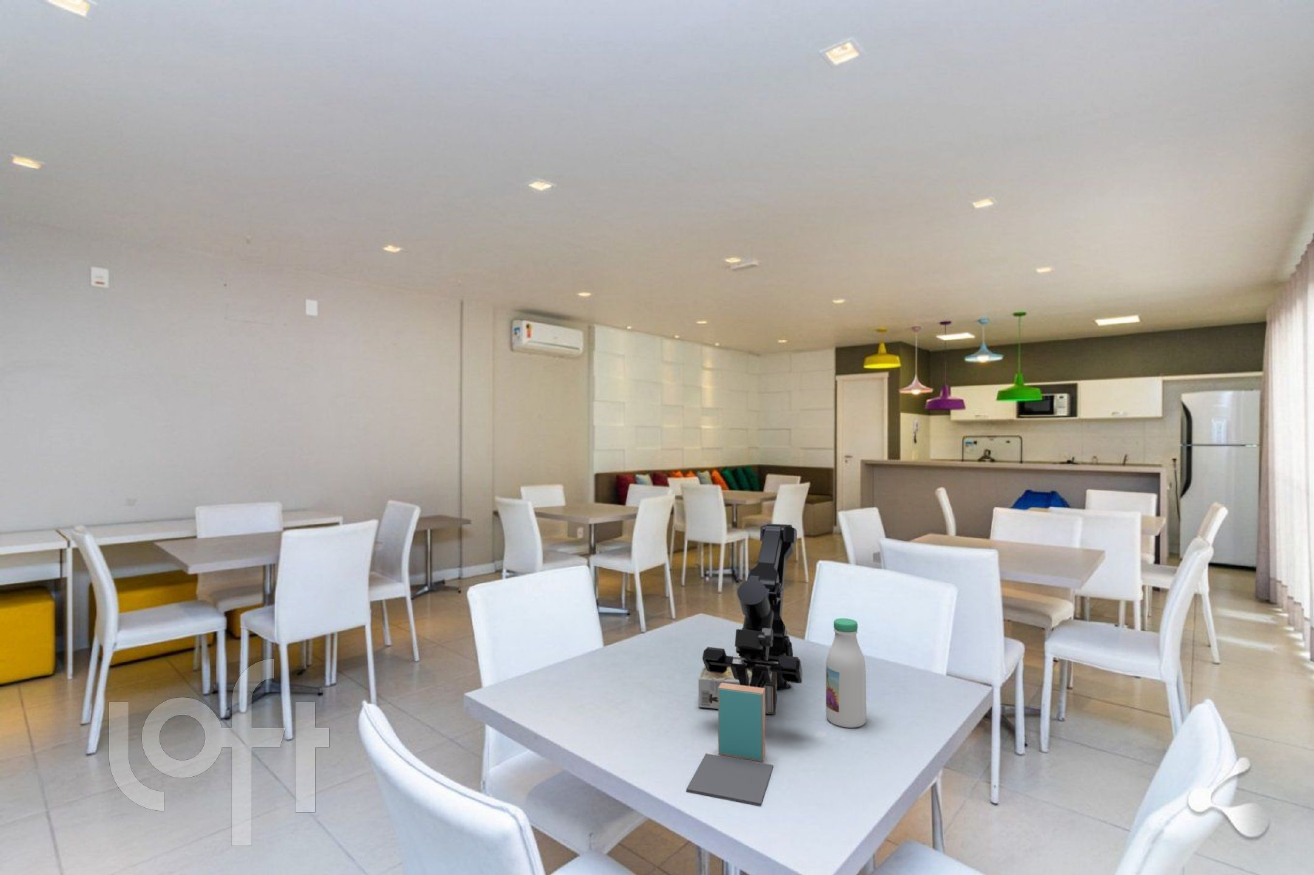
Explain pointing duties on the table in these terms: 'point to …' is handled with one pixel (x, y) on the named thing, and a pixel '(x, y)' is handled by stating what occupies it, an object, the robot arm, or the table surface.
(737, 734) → the block
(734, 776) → the mat
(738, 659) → the robot arm
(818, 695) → the table surface
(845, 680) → the milk bottle
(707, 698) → the coffee box
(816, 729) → the table surface
